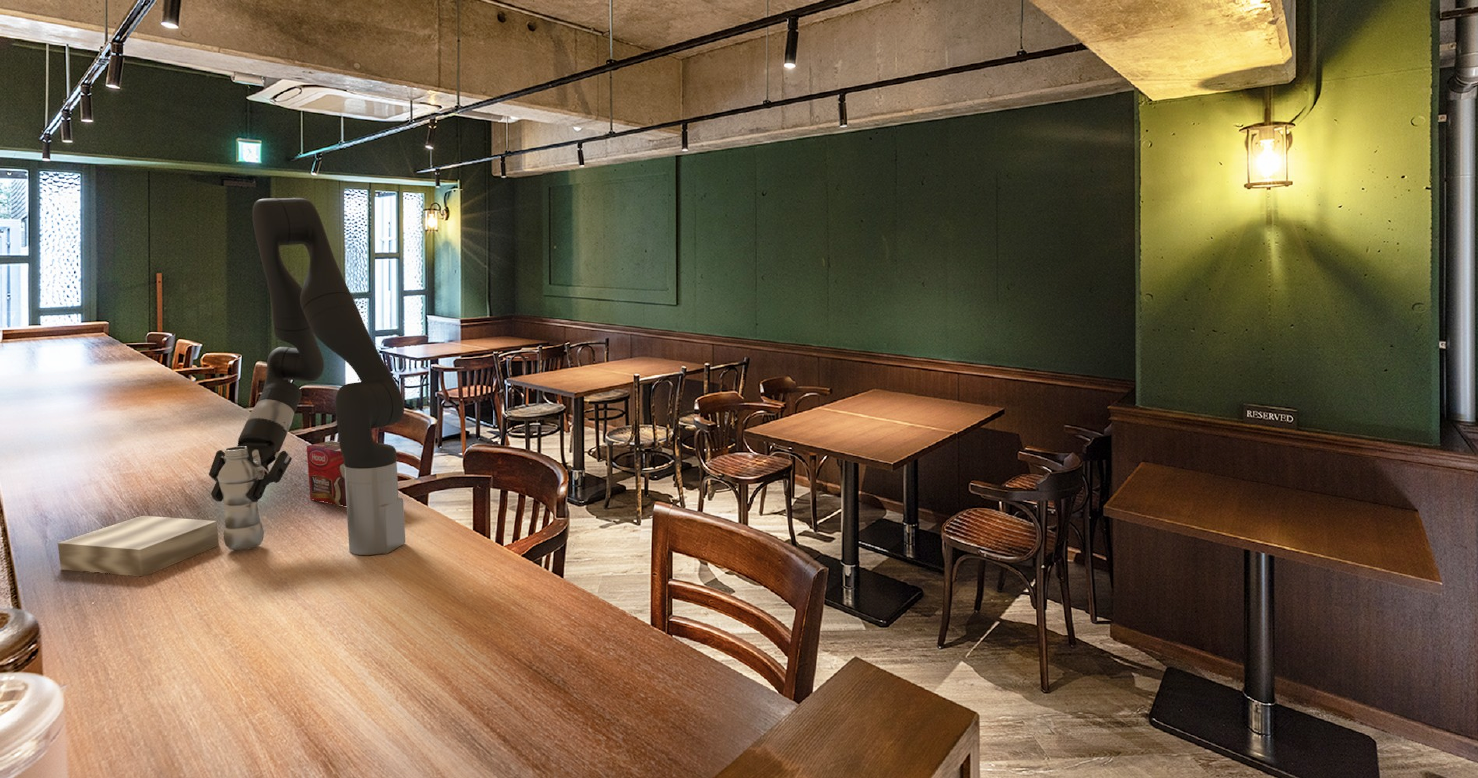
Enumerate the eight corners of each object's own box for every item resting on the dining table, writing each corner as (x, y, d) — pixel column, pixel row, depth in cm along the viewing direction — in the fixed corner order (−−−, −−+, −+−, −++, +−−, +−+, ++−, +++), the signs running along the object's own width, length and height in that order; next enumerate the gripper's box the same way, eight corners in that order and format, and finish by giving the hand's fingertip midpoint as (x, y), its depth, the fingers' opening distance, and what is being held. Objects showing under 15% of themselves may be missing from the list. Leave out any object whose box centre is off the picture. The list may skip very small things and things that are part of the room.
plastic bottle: (245, 555, 140) (236, 453, 137) (215, 552, 142) (206, 451, 139) (273, 543, 146) (265, 445, 144) (244, 540, 148) (235, 443, 145)
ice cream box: (391, 504, 174) (389, 449, 172) (368, 512, 168) (365, 455, 166) (334, 493, 182) (331, 440, 180) (310, 500, 177) (306, 445, 175)
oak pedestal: (218, 545, 146) (216, 521, 145) (142, 576, 130) (139, 549, 129) (144, 539, 148) (142, 515, 148) (60, 569, 133) (57, 543, 132)
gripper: (221, 416, 148) (184, 490, 138) (294, 417, 148) (262, 490, 138) (241, 436, 154) (207, 508, 144) (311, 437, 154) (281, 509, 144)
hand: (234, 499), depth 141 cm, fingers closed on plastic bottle, 6 cm apart
